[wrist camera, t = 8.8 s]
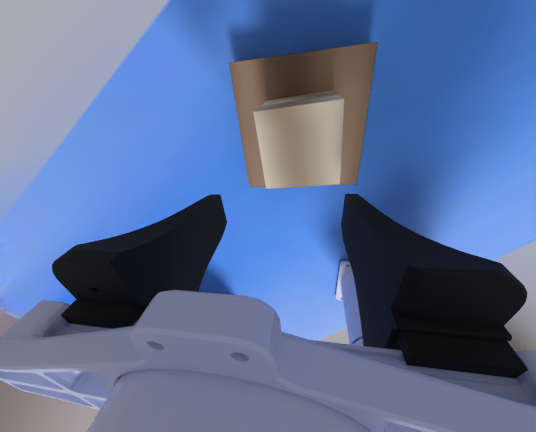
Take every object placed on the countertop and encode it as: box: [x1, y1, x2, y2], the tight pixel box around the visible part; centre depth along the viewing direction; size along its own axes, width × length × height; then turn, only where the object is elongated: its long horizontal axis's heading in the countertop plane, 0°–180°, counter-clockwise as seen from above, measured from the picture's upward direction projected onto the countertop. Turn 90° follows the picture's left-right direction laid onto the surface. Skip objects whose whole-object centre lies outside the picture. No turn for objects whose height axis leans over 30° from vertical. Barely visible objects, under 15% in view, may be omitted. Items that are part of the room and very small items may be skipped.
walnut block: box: [229, 42, 378, 187], centre depth 18 cm, size 10×10×3 cm
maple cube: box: [253, 90, 344, 189], centre depth 15 cm, size 5×5×5 cm
